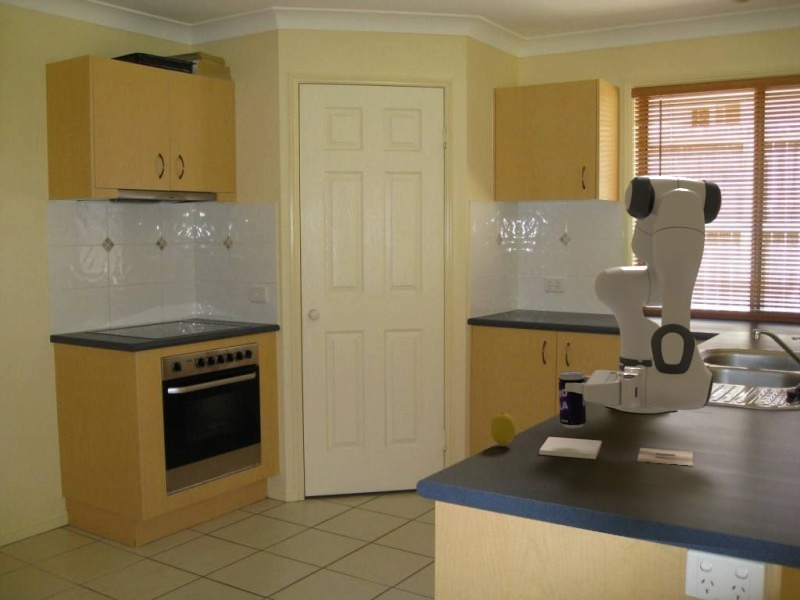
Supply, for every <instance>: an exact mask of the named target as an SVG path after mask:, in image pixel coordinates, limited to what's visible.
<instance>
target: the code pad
mask: <svg viewBox="0 0 800 600" xmlns="http://www.w3.org/2000/svg"><path fill="white" fill-rule="evenodd" d="M693 453H694V452H693V451H689V450H688V451H686V450H673V449H672V450H671V449H661V448H647V447H640V448H639V451H638V455H637V456H638V457H637V460H636V462H637V463H645V462H650V463H649V464H657V463H663V464H662V465H669V464H677V465H676V466H681V465H688V466H687V467H693V461H694V460H693V456H694V454H693ZM664 463H665V464H664Z"/></svg>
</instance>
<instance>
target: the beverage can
mask: <svg viewBox="0 0 800 600" xmlns="http://www.w3.org/2000/svg"><path fill="white" fill-rule="evenodd" d="M583 373H584V372H583V371H579V370H566V371H561V372H559V374H560V375H559V376H558V400H559V404H558V405H559V422H560V424H561V425H562V427H564V428H567V429H579V428H582V427H583V426H584V425H585V424H586V423H587V414H586V413H587V411H586V407H587V406H586V401H585V400H584V394H580V393H576V392H570V391H566V390H565V384H566V383H567V382H574V383H585V378H584V376H585V375H584V374H583Z"/></svg>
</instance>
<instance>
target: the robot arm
mask: <svg viewBox="0 0 800 600" xmlns="http://www.w3.org/2000/svg"><path fill="white" fill-rule="evenodd" d="M722 202H723V198H722V192H721V188H720V187H719V185H718V184H717V183H715V182H713V181H709V180H706V179H703V180H699V179H695V178H691V177H690V178H689V177H684V176H650V175H639V176H635V177H634V178H632V179H631V180H630V182H629V183H628V185H627V188H626V190H625V193H624V204H625V210H626V212H627V214H628V215H629V216H630V217H632V218H635V219H636V222H635V224H634V225H635V226H634V230H633V234H632V239H631V244H630V247H631V251H632V253H633V254H634V255H635V257H636V258H637V259H638V260H640V261H642V262H643V263H645V265H623V266H622V265H621V266H620V265H619V266H613V267H610V268H605V269H602V270H601V271H600V272H599V273H598V275H597V276H596V279H595V281H594V293H595V295H596V297H597V299H598V301H599V302H600V303H601V304H602V305H604V306H605V307H606V308H607V309H609V310H610V312H611V313H612V314H613V316H614V317H615V320H616V322H617V324H618V327H619V336H620V356H618V358H619V359H618V370H610V369H609V370H608V369H596V370H594V371H593V372H592V374H591V375H583V376H584V378H585V383H574V382H567V383H566V384H565V390H566V391H570V392H576V393H580V394H584V400H585V402H587V403H590V404H598V405H605V407H606V408H607V407H608V408H612V409H615V410H618V411H621V412H628V413H633V414H634V413H635V414H659V413H666V412H676V411H694V410H695V411H696V410H700V409H704V408H705V407H706V406H707V405H708V404H709V403H710V399H711V397H712V391H713V386H714V380H715V379H714V374H713V373H712V372H711V371H710V370H709V368H708V367H707V366H706V363H705V361H704V360H703V358H702V356H701V353H700V350H699V347H698V344H697V342H696V341H697V340H696V338H695V336H694V335H693V333H692V331H691V311H692V309H691V307H692V299H693V292H694V289H695V285H696V282H697V278H698V275H699V273H700V272H699V270H700V268H701V264H702V260H703V256H704V251H705V240H706V225H708V224H709V225H710V224H711V223H712V222H714V221H715V220H716V219H717V218H718V215H719V213H720V211H721V209H722V204H723V203H722ZM644 307H661V321H660V322H661V325H659V324H658V323H657V322H655V321H653V320H652V319H649V318H647V317H646V316H645V314H644V312H643V311H644V310H643V308H644Z"/></svg>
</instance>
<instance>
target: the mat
mask: <svg viewBox="0 0 800 600" xmlns="http://www.w3.org/2000/svg"><path fill="white" fill-rule="evenodd" d="M602 443H603V441H602V440H597V439H595V440H594V439H585V438H584V439H581V438H571V437H569V438H568V437H557V436H556V437H555V436H548V437H547V439H546V440H545V442H544V443H543V444H542V445H541V447H540V449H539V451H538V453H539V455H542V456H543V455H544V456H555V457H568V458H579V459H580V458H581V459H589V460H590V459H591V460H592V459H593V460H596V459H597V457H598V454H599V452H600V450H601V448H602Z"/></svg>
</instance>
